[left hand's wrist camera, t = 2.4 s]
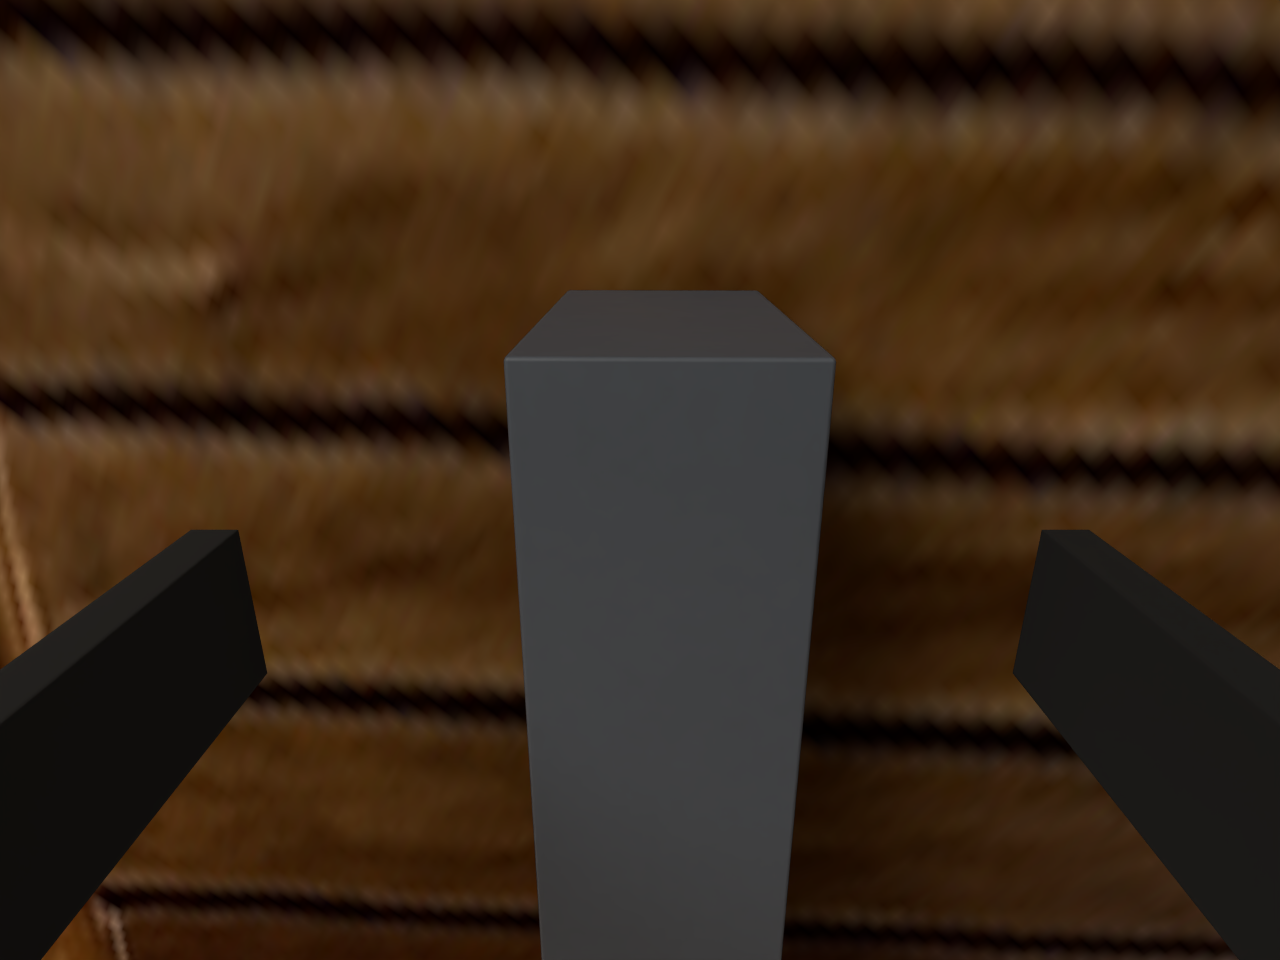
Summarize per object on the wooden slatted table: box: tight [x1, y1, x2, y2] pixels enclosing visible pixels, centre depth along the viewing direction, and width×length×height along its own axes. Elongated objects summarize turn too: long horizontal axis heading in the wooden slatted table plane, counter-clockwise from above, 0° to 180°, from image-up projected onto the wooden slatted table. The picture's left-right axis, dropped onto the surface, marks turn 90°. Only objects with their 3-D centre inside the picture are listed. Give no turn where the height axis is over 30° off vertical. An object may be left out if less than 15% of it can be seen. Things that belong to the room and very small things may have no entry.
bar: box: [504, 290, 836, 960], centre depth 19 cm, size 25×5×8 cm, turn 0°
